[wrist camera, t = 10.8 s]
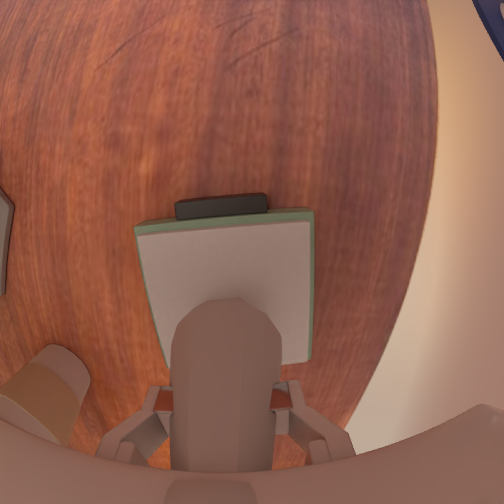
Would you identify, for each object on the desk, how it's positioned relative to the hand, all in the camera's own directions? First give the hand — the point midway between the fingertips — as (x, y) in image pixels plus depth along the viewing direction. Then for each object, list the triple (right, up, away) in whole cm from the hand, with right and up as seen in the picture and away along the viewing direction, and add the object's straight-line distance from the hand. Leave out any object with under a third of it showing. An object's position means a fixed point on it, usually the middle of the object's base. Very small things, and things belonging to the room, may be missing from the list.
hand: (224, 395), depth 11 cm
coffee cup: (-20, -7, +13) cm, 25 cm away
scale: (0, +3, +10) cm, 11 cm away
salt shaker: (0, +2, +6) cm, 6 cm away
